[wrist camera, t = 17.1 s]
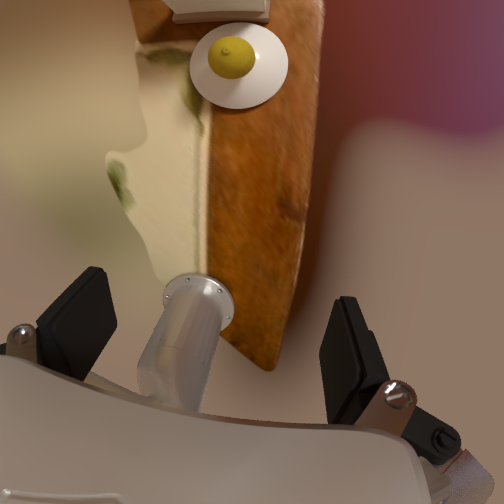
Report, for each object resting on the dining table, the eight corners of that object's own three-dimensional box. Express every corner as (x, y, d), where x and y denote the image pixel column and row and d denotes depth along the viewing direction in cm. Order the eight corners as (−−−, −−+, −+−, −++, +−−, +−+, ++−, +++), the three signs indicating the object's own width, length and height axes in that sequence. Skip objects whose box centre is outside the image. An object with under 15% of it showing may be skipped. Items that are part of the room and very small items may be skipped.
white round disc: (283, 112, 34) (283, 112, 33) (188, 108, 34) (186, 107, 33) (290, 27, 28) (291, 25, 27) (196, 25, 29) (194, 23, 28)
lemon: (253, 85, 32) (247, 76, 25) (212, 80, 32) (195, 70, 25) (261, 48, 29) (257, 30, 22) (219, 44, 29) (205, 26, 22)
